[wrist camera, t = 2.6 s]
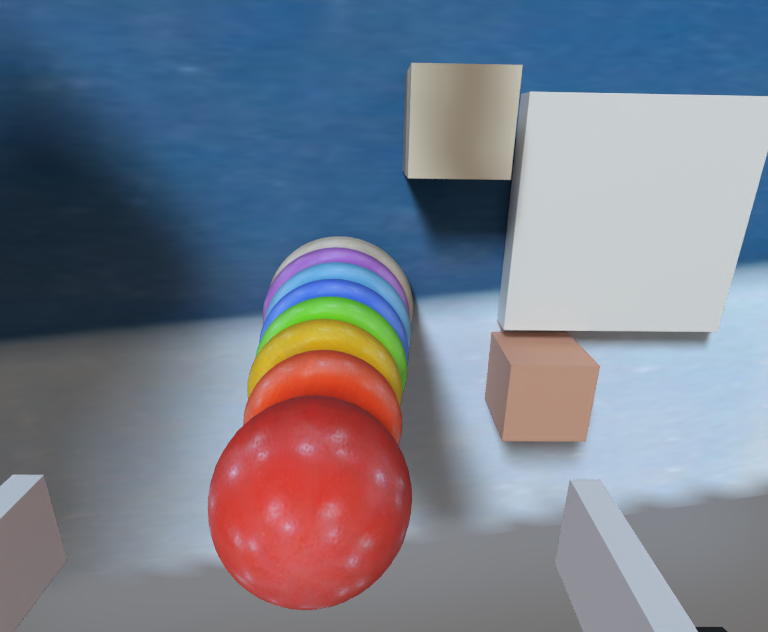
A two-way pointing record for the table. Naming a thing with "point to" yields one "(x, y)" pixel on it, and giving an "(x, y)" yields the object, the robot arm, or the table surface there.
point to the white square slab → (629, 209)
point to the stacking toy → (320, 432)
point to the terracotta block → (540, 386)
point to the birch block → (460, 120)
